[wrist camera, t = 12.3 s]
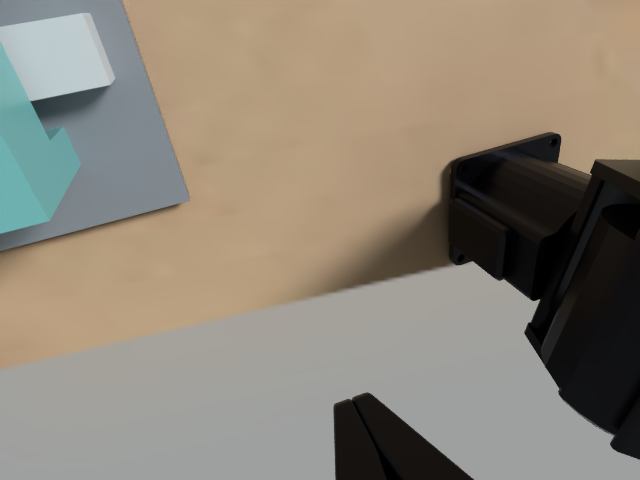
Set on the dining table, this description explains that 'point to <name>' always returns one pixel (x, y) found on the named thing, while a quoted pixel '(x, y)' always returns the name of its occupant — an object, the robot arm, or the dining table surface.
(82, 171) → the board
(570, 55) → the dining table surface
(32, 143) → the block
